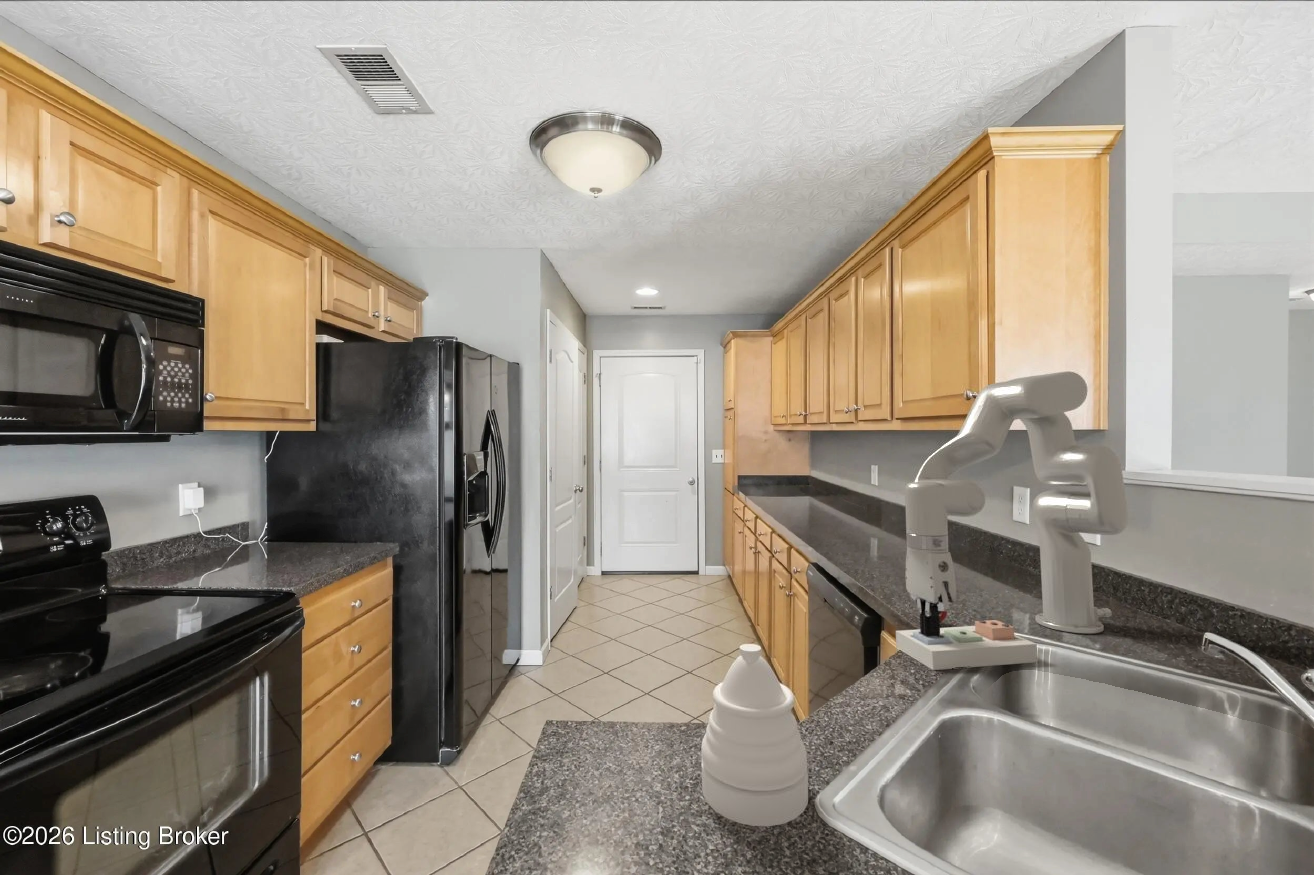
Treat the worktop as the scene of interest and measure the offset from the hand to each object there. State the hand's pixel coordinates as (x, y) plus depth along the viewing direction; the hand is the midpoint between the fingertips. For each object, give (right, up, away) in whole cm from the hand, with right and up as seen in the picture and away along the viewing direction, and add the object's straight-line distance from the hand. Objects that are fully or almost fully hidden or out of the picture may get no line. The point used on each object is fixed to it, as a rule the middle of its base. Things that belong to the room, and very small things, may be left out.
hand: (930, 634), depth 106 cm
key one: (+7, -3, +1) cm, 8 cm away
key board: (+7, -5, +1) cm, 9 cm away
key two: (0, -3, 0) cm, 3 cm away
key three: (+14, -2, +2) cm, 14 cm away
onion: (+11, -5, +19) cm, 23 cm away
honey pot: (-43, -4, -41) cm, 60 cm away
